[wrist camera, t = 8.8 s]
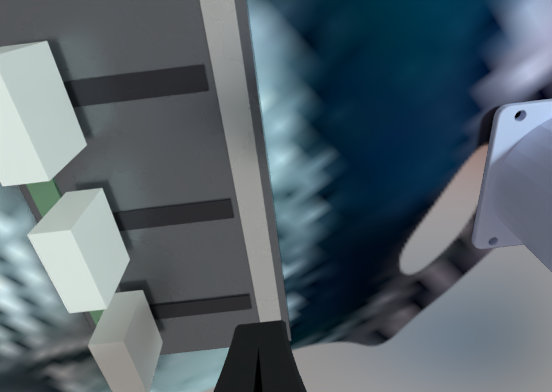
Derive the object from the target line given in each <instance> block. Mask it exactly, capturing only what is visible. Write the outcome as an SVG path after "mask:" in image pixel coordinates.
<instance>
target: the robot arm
mask: <svg viewBox="0 0 552 392" xmlns="http://www.w3.org/2000/svg"><path fill="white" fill-rule="evenodd" d="M518 111H521V114H520V116H519V117H518V118H515V115H516V113H517V112H518ZM491 238H493V239H492V240H490V239H491ZM489 240H490V241H489ZM472 243H473V245H474V246H475V247H476V248H478V249H488V248H497V247H506V246H514V245H525V246H526V247H527V248H528V249H529V250H530V251H531V252H532V253H533V254H534V255H535V256H536V257H537V258H538V259H539V260H540V261H541V262H542V263H543V264H544V265H545V266H546V267H547V268H548V269H549V270H550V271H551V272H552V99H546V100H537V101H529V102H521V103H512V104H506V105H503V106H501V107H500V108H498V110H497V111H496V112H495V115H494V119H493V124H492V130H491V135H490V141H489V146H488V152H487V158H486V164H485V169H484V174H483V180H482V185H481V191H480V196H479V202H478V207H477V213H476V218H475V224H474V229H473V235H472ZM214 392H307V391H306V389H305V386H304V384H303V382H302V379H301V376H300V374H299V372H298V369H297V366H296V363H295V360H294V357H293V354H292V350H291V347H290V343H289V339H288V334H287V327H286V322H284V321H283V320H276V321H267V322H258V323H249V324H240V325H238V326H237V327H236V328H235V330H234V334H233V338H232V342H231V345H230V348H229V351H228V354H227V357H226V360H225V363H224V366H223V369H222V371H221V374H220V377H219V379H218V382H217V384H216V387H215V389H214Z"/></svg>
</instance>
